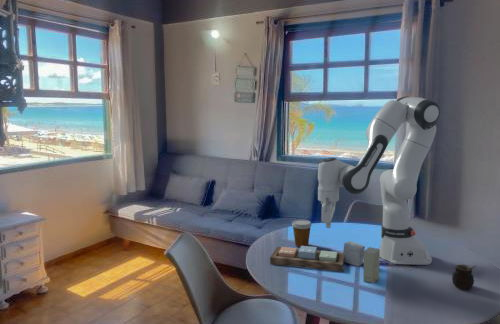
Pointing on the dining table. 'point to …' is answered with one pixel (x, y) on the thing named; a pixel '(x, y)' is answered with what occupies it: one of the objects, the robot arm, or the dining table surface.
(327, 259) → the tile one
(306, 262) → the key frame
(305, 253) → the tile two
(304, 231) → the disposable coffee cup
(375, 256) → the skincare box
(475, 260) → the dining table surface
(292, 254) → the tile three
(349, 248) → the medicine box
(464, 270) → the mate gourd
